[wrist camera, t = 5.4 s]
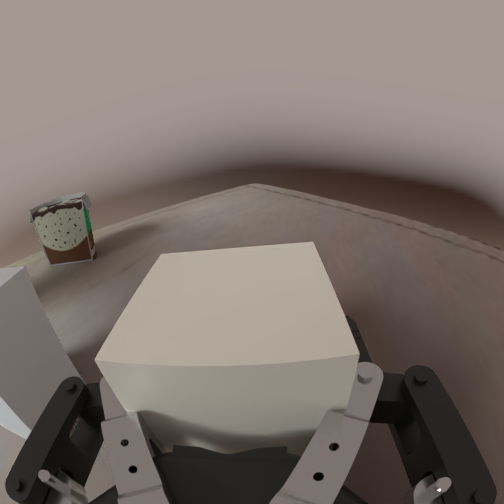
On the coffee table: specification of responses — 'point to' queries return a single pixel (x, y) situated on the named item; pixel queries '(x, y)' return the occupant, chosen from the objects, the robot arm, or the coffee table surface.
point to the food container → (65, 229)
